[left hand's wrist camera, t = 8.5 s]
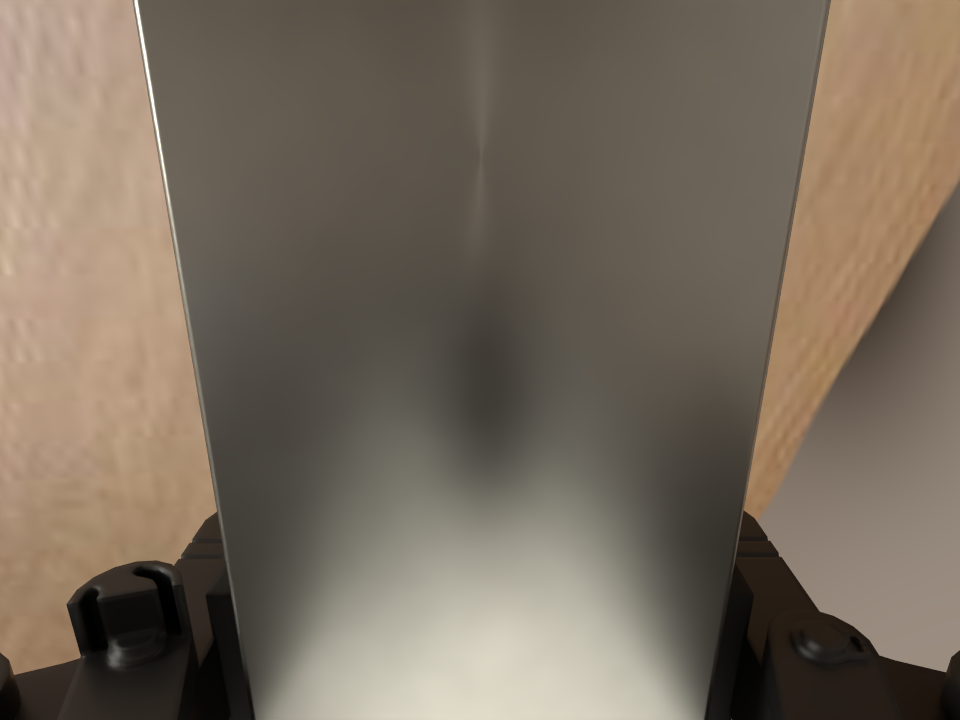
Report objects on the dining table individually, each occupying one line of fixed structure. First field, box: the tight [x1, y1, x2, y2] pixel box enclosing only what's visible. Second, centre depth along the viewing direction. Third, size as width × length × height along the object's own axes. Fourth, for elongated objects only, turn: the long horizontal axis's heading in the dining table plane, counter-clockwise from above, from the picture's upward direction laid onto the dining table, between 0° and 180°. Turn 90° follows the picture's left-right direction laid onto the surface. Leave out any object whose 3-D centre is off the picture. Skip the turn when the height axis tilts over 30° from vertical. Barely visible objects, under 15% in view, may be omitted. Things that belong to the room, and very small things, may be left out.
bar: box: [133, 0, 831, 720], centre depth 9 cm, size 21×6×8 cm, turn 0°
